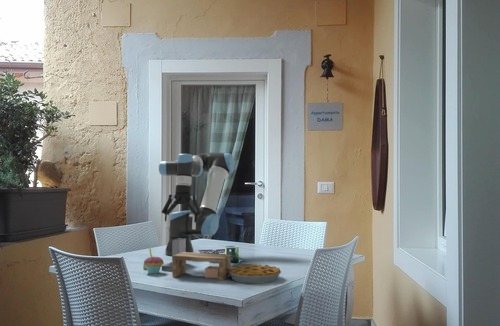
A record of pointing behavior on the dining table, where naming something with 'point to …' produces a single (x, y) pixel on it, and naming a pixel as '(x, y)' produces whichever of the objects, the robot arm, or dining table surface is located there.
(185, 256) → the shelf
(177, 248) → the hook tool
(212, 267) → the block
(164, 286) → the dining table surface
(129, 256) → the dining table surface
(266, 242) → the dining table surface
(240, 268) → the pie
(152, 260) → the cupcake
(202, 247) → the dining table surface
